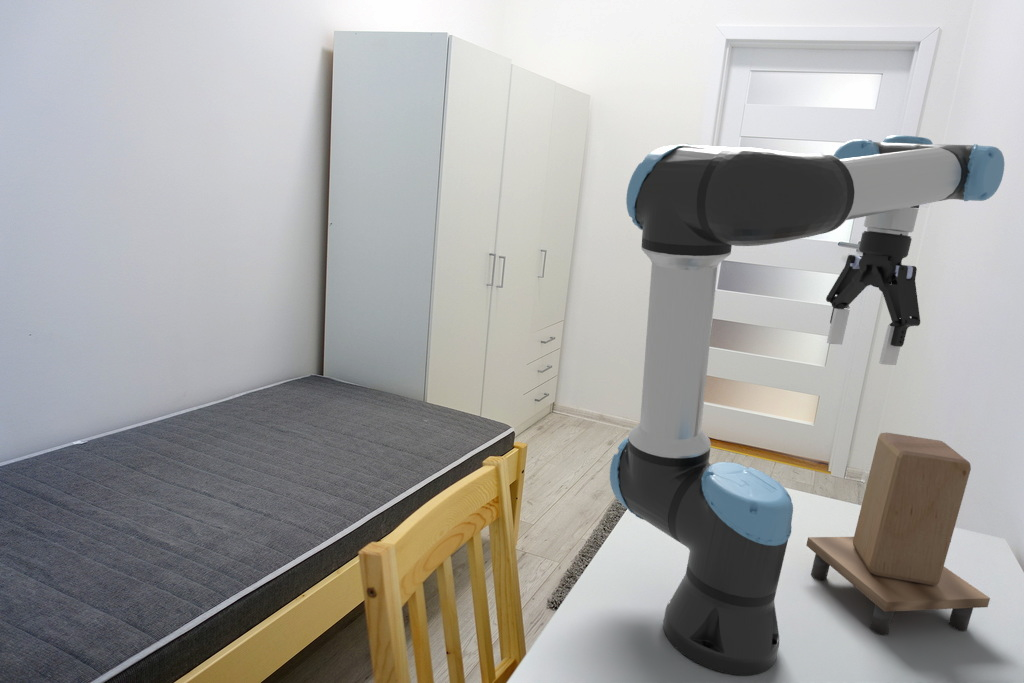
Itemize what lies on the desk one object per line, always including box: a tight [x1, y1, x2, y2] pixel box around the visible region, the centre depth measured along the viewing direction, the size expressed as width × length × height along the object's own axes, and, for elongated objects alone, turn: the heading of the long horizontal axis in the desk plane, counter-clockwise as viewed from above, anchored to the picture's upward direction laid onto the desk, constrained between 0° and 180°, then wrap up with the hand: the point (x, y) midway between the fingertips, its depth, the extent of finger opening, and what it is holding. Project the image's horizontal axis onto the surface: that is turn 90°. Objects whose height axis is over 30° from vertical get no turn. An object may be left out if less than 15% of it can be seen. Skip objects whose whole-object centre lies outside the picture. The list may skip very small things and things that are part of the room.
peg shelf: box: [806, 536, 991, 636], centre depth 111 cm, size 18×18×6 cm
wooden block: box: [853, 432, 972, 585], centre depth 108 cm, size 10×10×20 cm
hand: (859, 353), depth 124 cm, fingers open, 13 cm apart
